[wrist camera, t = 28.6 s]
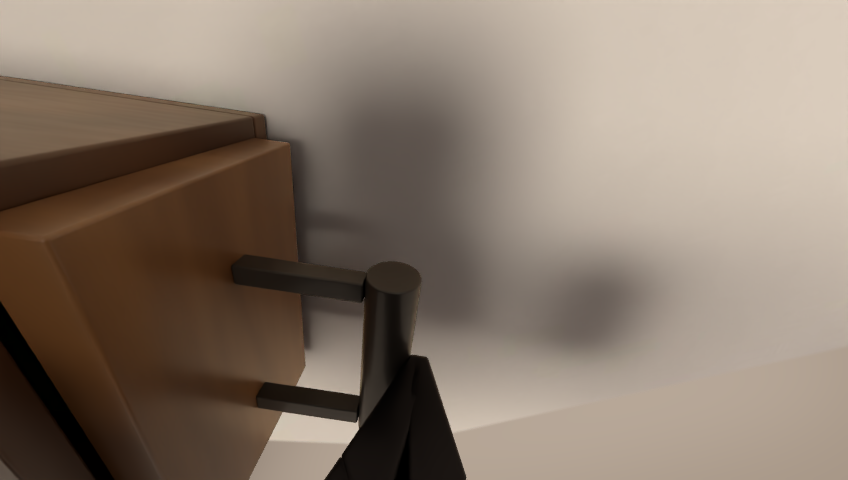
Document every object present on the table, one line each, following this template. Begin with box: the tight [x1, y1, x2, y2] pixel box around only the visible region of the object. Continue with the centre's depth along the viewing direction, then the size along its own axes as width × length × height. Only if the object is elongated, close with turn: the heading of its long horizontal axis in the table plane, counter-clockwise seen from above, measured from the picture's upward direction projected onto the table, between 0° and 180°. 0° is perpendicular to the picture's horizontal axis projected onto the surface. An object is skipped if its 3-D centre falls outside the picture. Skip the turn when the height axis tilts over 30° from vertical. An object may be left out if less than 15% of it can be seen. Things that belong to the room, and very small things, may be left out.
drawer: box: [0, 138, 422, 480], centre depth 9 cm, size 20×10×7 cm, turn 83°
